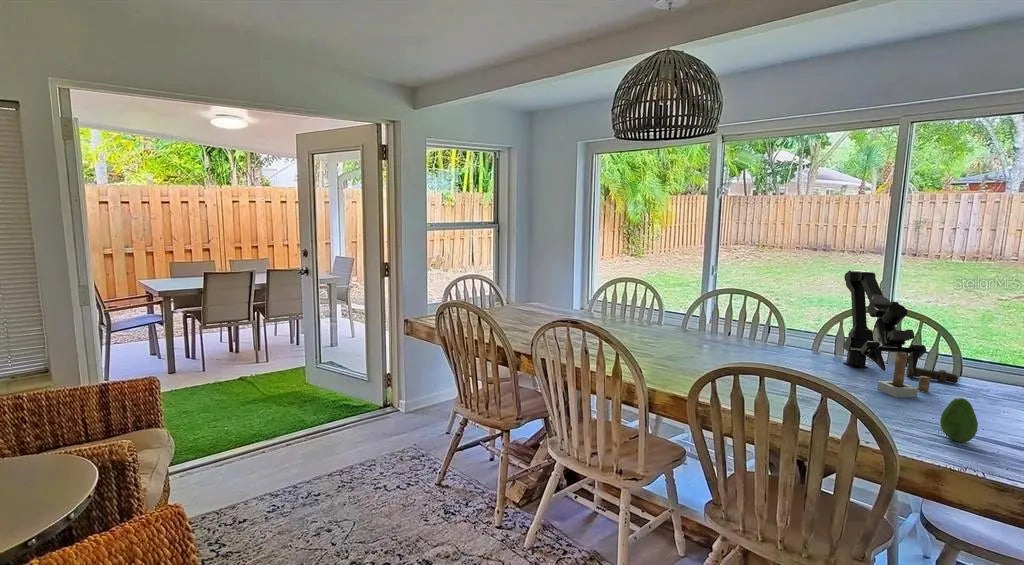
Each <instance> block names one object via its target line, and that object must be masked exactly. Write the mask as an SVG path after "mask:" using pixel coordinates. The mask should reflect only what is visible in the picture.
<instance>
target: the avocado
mask: <svg viewBox="0 0 1024 565" xmlns="http://www.w3.org/2000/svg"><path fill="white" fill-rule="evenodd" d="M939 423H940V427H941V428H940V429H941V431H942V432H943V433H944V434H945V435H946V437H948V438H949V439H951V440H953V441H955V442H957V443H965V442H969V441H971V440H973V439H974V438H975V436H976V434H977V432H978V428H979V423H978V418H977V415H976V413H975V409H974V407H973V406H972V404H971V403H970V401H969V400H968V399H966V398H963V397H957V398H954V399H953V400H951V401H950V402H949V403H948V404H947V406H946V407H945V409H944V410H943V411H942V413H941V417H940V420H939Z"/></svg>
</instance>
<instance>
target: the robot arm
mask: <svg viewBox="0 0 1024 565" xmlns="http://www.w3.org/2000/svg"><path fill="white" fill-rule="evenodd" d="M844 281H845V286H846V287H847V289H848V290H849V292H850V297H851V315H852V316H851V317H852V328H851V329H850V331H848V336H847V338H846V339H845V341H844V342H843V349H844V350H845V351H847V354H846V361H843V362H842V364H844V365H847V366H849V367H852V368H853V369H854V368H856V369H857V368H869V365H867V364H866V362H867V358H869V359H870V360H871V361H873V362H874V363H875V364H876V365H877V366H878V367H879V368H880V369H881V370H882V372H885V371H886V365H885V361H884V358H883V355H882V353H883V352H887V353H895V354H897V353H904V354H907V361H906V363H907V365H909V366H910V369H911V371H912V372H913V373H915V371H916V368H917V364H918V363H917V362H918V359H921V357H922V356H923V355H925V354H926V353H927V347H926V346H925V345H924V344H919V343H911V344H910V345H909V346H908V347H906V346H905V347H903V346H904V345H905V344H906V341H907V342H908V341H910V340H913V339H915V332H914V330H913V329H909V328H908V329H907V328H906V329H905V330H899V329H898V330H897V327H896V326H899V325H900V324H901V322H902V321H903V320H904V318H906V317H907V315H908V311H909V310H908V309H907V308H906V307H905V306H903V304H902V305H901V304H900V303H899V301H891V300H890V299H888V298H887V297H885V295H884V294H883V291H882V290H881V288H880V286H879V283H878V280H877V279H876V273H875V271H874V272H873V271H868V270H867V271H866V270H851V269H850V270H849V269H848V271H847V272H845V273H844ZM866 297H867V299H868V302H869V303H868V306H866ZM867 313H868V314H869V316H870V317H871V318H877V319H876V320H875V322H874V325H873V328H874V329H877V334H878V338H877V340H878V341H875V339H874V336H873V334H874V332H873V330H872V329H870V328H869V327H868V324H867V323H868V321H867Z"/></svg>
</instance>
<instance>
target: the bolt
mask: <svg viewBox="0 0 1024 565" xmlns="http://www.w3.org/2000/svg"><path fill="white" fill-rule="evenodd" d="M906 367H907V368H906V371H905V375H907V376H906V378H908V377H912V378H913V377H916V378H920V376H926V377H930V380H935V381H937V382H938V381H939V382H938V383H941V382H945V383H953V384H956V383H958V381H959V376H958V375H957V374H953V373H949V372H948V373H947V371H946V370H945V369H944V370H943V369H940V370H938V371H937V370H936V371H935V370H930V369H925V368H924V369H923V368H919V367H916V371H915V373H913V372H912V371H911V369H910V366H909V364H907V366H906Z"/></svg>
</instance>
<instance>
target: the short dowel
mask: <svg viewBox="0 0 1024 565" xmlns="http://www.w3.org/2000/svg"><path fill="white" fill-rule="evenodd" d="M918 378H919V380H918V384H917V386H918V390H920V391H919V392H921V391H924V392H923V393H929V392H928V391H930V384H931V379H930V377H926V376H920V377H918Z"/></svg>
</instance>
